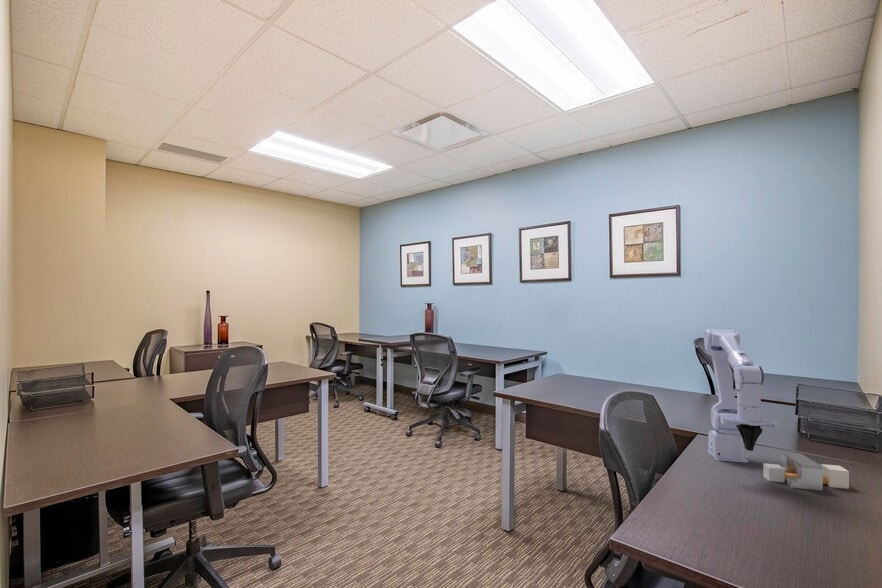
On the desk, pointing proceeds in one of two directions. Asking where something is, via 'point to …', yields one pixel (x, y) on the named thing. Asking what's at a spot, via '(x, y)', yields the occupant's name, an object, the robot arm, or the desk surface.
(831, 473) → the plug
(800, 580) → the desk surface
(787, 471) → the housing
